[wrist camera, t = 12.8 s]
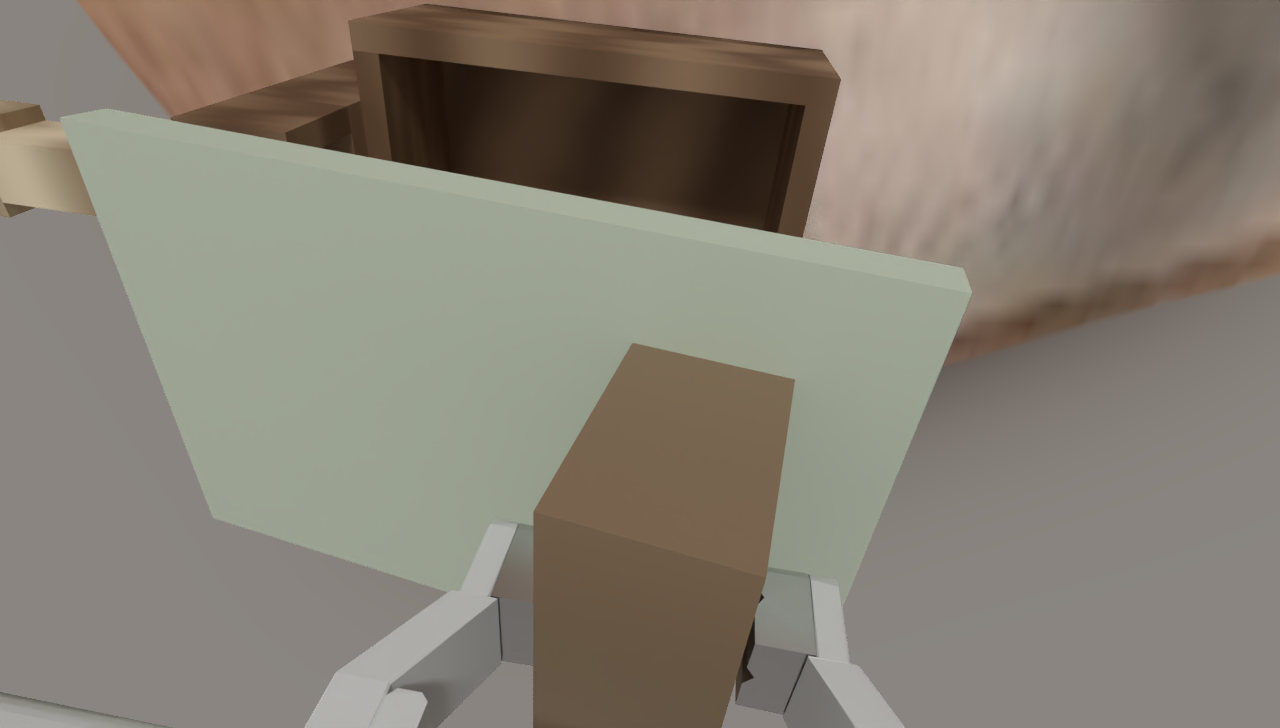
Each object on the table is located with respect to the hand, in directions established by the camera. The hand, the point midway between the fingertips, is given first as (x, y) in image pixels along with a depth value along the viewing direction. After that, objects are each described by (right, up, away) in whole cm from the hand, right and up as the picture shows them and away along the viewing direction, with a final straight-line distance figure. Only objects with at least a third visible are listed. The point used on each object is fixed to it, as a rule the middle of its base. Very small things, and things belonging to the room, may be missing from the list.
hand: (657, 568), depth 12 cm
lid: (-4, +3, +3) cm, 6 cm away
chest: (-4, +14, +21) cm, 25 cm away
